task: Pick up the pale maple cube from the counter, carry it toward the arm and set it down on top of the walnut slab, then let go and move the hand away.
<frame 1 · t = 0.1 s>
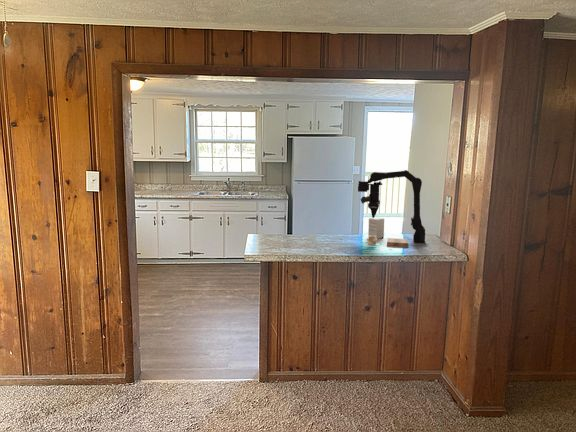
hand: (373, 216, 263), 15 cm above the counter, tool pointing down, fingers open, 9 cm apart
maple cube: (372, 243, 254), on the counter
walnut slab: (397, 245, 250), on the counter
supplement box: (375, 237, 271), on the counter
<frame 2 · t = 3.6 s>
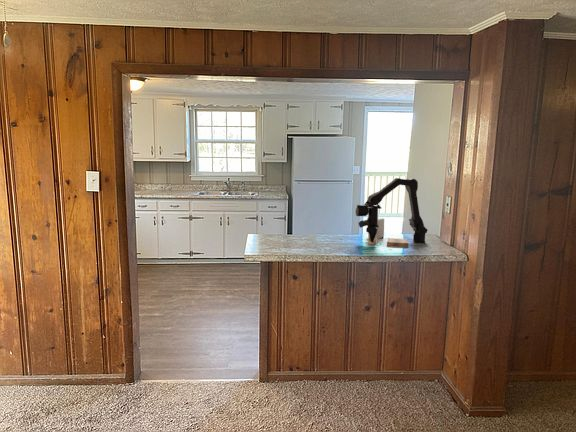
hand: (372, 241, 253), 1 cm above the counter, tool pointing down, fingers closed on maple cube, 4 cm apart
maple cube: (372, 243, 254), on the counter, touching gripper
everything else where it was.
when the fingers open (5 cm above the counter, at t = 8.7 s): maple cube drops 2 cm, resting on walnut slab.
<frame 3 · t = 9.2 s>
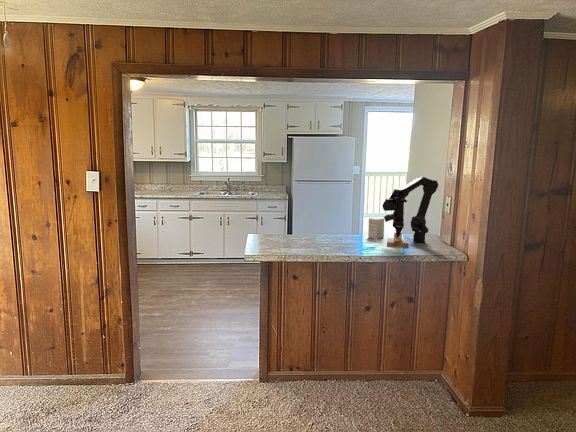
hand: (397, 235, 249), 5 cm above the counter, tool pointing down, fingers open, 9 cm apart
maple cube: (397, 240, 249), point 2 cm above the counter, touching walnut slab
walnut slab: (397, 245, 250), on the counter, touching maple cube
everything else where it was.
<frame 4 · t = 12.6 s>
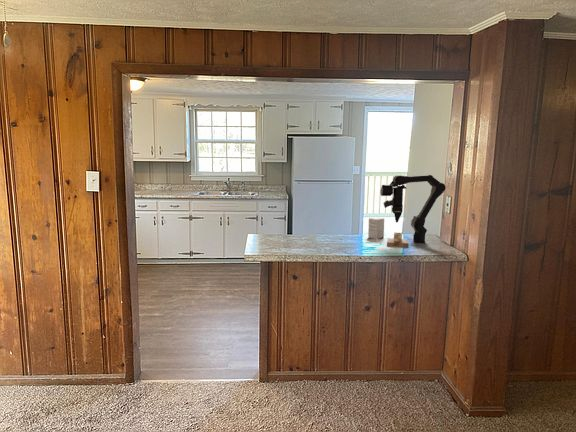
hand: (396, 221, 256), 13 cm above the counter, tool pointing down, fingers open, 9 cm apart
maple cube: (397, 240, 249), point 2 cm above the counter
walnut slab: (397, 245, 250), on the counter
everything else where it was.
at the end: maple cube inside the target area on the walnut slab (0.0 cm from its centre), point 3.0 cm above the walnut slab's base; maple cube tilted 0°; the gripper is holding nothing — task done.
